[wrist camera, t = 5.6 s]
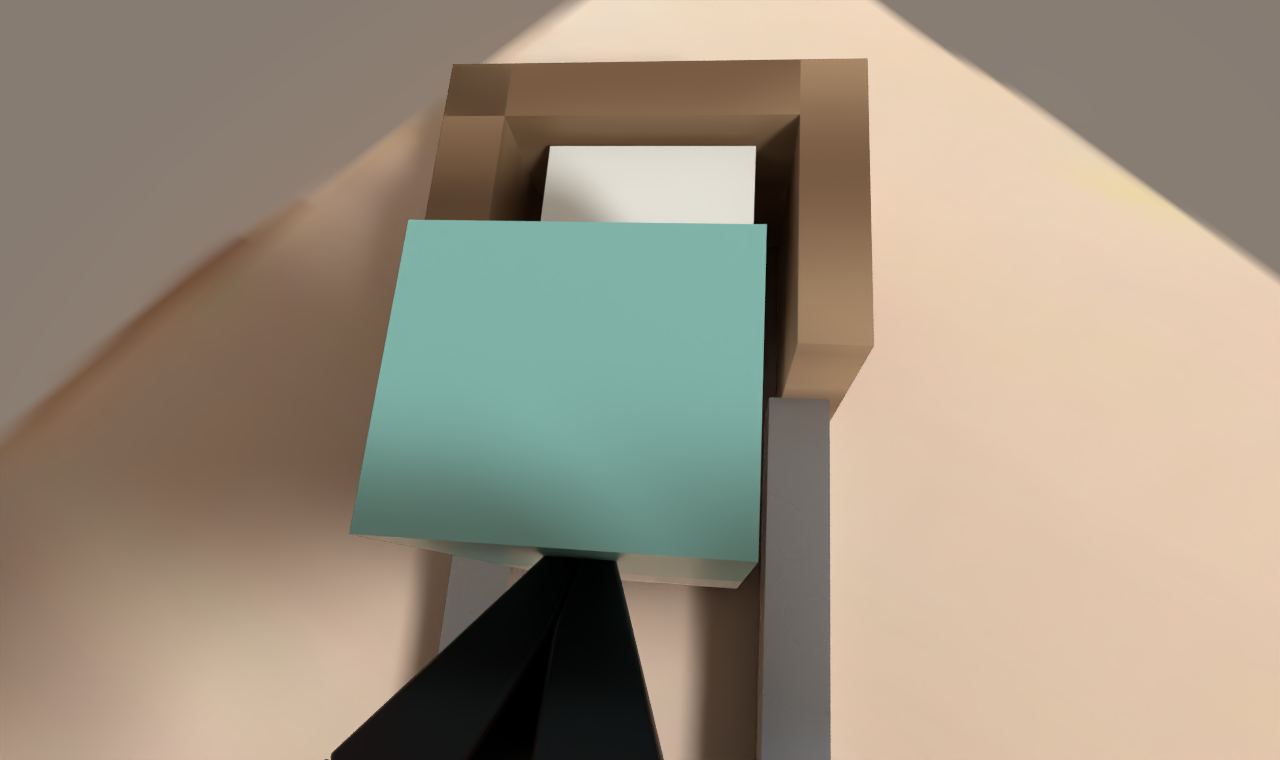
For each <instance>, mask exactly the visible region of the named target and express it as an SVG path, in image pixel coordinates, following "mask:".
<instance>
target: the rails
mask: <svg viewBox="0 0 1280 760" xmlns="http://www.w3.org/2000/svg"><path fill="white" fill-rule="evenodd" d="M527 571H528V570H524V569H519V568H514V567H509V566H504V565H499V564H494V563H489V562H484V561H480V560H475V559H470V558H465V557H460V556H455V555H452V562H451V569H450V575H449V582H448V589H447V596H446V603H445V610H444V616H443V623H442V630H441V637H440V644H439V651H438V654H439V653H440V652H441V651H442V650H443V649H444V648H445V647H446V646H447V645H449V644H450V643H451V642H452V641H453V640H454V639H455V638H456V637H457V636H458V635H459V634H460V633H461V632H462V631H464V630H465V629H466V628H467V627H468V626H469V625H470V624H471V623H472V622H473V621H474V620H475V619H476V618H478V617H479V616H480V615H481V614H482V613H483V612H484V611H485V610H486V609H487V608H488V607H489V606H490V605H492V604H493V603H494V602H495V601H496V600H497V599H498V598H499V597H500V596H501V595H502V594H503V593H504V592H506V591H507V590H508V589H509V588H510V587H511V586H512V585H513V584H514V583H515V582H516V581H517V580H518V579H520V578H521V577H522V576H523V575H524V574H525V573H526V572H527ZM756 760H831V752H830V436H829V400H822V399H798V398H774V397H769V401H768V405H767V410H766V414H765V418H764V452H763V493H762V535H761V576H760V618H759V660H758V701H757V743H756Z"/></svg>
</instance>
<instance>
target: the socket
mask: <svg viewBox="0 0 1280 760" xmlns="http://www.w3.org/2000/svg"><path fill="white" fill-rule="evenodd" d="M550 146H756V161H755V193H754V224H767V237H766V246H779V260H778V311H777V363H776V398H798V399H822V400H829V422H830V420H831V418H832V417H833V415H834V413H835V412H836V410H837V408H838V406H839V405H840V403H841V401H842V400H843V398H844V396H845V394H846V393H847V391H848V389H849V388H850V386H851V384H852V382H853V381H854V379H855V377H856V376H857V374H858V372H859V370H860V369H861V367H862V365H863V364H864V362H865V360H866V358H867V357H868V355H869V353H870V352H871V350H872V348H873V346H874V328H873V284H872V239H871V195H870V150H869V106H868V61H867V59H799V60H730V61H660V62H591V63H521V64H453V68H452V74H451V79H450V85H449V90H448V95H447V101H446V106H445V112H444V118H443V123H442V129H441V134H440V140H439V145H438V151H437V156H436V162H435V167H434V173H433V178H432V184H431V189H430V195H429V200H428V206H427V211H426V217H425V220H473V221H541V215H542V207H543V199H544V191H545V184H546V176H547V168H548V160H549V152H550Z"/></svg>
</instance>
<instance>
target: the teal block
mask: <svg viewBox="0 0 1280 760" xmlns="http://www.w3.org/2000/svg"><path fill="white" fill-rule="evenodd" d="M755 161H756V146H550V152H549V160H548V168H547V176H546V184H545V191H544V199H543V207H542V215H541V221H473V220H408V225H407V230H406V236H405V241H404V246H403V251H402V257H401V262H400V267H399V273H398V278H397V283H396V289H395V294H394V299H393V304H392V310H391V315H390V320H389V326H388V331H387V336H386V342H385V347H384V352H383V358H382V363H381V368H380V373H379V379H378V384H377V389H376V395H375V400H374V405H373V411H372V416H371V421H370V427H369V432H368V437H367V442H366V448H365V453H364V458H363V464H362V469H361V474H360V480H359V485H358V490H357V496H356V501H355V506H354V511H353V517H352V522H351V527H350V533H349V534H352V535H357V536H362V537H367V538H372V539H377V540H381V541H386V542H391V543H396V544H401V545H406V546H411V547H416V548H421V549H426V550H431V551H435V552H440V553H445V554H450V555H455V556H460V557H465V558H470V559H475V560H480V561H484V562H489V563H494V564H499V565H504V566H509V567H514V568H519V569H524V570H529V569H530V568H531V567H532V566H534V565H535V564H536V563H537V562H538V561H539V560H540V559H541V558H542V557H543V556H554V557H568V558H578V559H596V560H611V561H617V565H618V569H619V573H620V578H621V580H625V581H639V582H653V583H666V584H680V585H693V586H707V587H721V588H734V589H737V588H738V587H739V585H740V584H741V583H742V582H743V580H744V579H745V578H746V577H747V576H748V574H749V573H750V572H751V571H752V569H753V568H754V567H755V566H756V564H757V563H758V556H759V516H760V476H761V436H762V397H763V357H764V317H765V277H766V237H767V224H754V193H755Z"/></svg>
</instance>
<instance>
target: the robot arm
mask: <svg viewBox="0 0 1280 760" xmlns="http://www.w3.org/2000/svg"><path fill="white" fill-rule="evenodd" d="M325 760H328V759H325ZM331 760H664V759H663V755H662V750H661V746H660V742H659V738H658V734H657V729H656V725H655V721H654V717H653V713H652V708H651V704H650V700H649V696H648V691H647V687H646V683H645V679H644V675H643V670H642V666H641V662H640V658H639V654H638V649H637V645H636V641H635V637H634V632H633V628H632V624H631V620H630V616H629V611H628V607H627V603H626V599H625V595H624V590H623V586H622V582H621V578H620V573H619V569H618V565H617V561H611V560H596V559H578V558H568V557H554V556H543V557H542V558H541V559H540V560H539V561H538V562H537V563H536V564H535V565H534V566H532V567H531V568H530V569H529V570H528V571H527V572H526V573H525V574H524V575H523V576H522V577H521V578H520V579H518V580H517V581H516V582H515V583H514V584H513V585H512V586H511V587H510V588H509V589H508V590H507V591H506V592H504V593H503V594H502V595H501V596H500V597H499V598H498V599H497V600H496V601H495V602H494V603H493V604H492V605H490V606H489V607H488V608H487V609H486V610H485V611H484V612H483V613H482V614H481V615H480V616H479V617H478V618H476V619H475V620H474V621H473V622H472V623H471V624H470V625H469V626H468V627H467V628H466V629H465V630H464V631H462V632H461V633H460V634H459V635H458V636H457V637H456V638H455V639H454V640H453V641H452V642H451V643H450V644H449V645H447V646H446V647H445V648H444V649H443V650H442V651H441V652H440V653H439V654H438V655H437V656H436V657H435V658H433V659H432V660H431V661H430V662H429V663H428V664H427V665H426V666H425V667H424V668H423V669H422V670H421V671H419V672H418V673H417V674H416V675H415V676H414V677H413V678H412V679H411V680H410V681H409V682H408V683H407V684H405V685H404V686H403V687H402V688H401V689H400V690H399V691H398V692H397V693H396V694H395V695H394V696H393V697H391V698H390V699H389V700H388V701H387V702H386V703H385V704H384V705H383V706H382V707H381V708H380V709H379V710H377V711H376V712H375V713H374V714H373V715H372V716H371V717H370V718H369V719H368V720H367V721H366V722H365V723H364V724H362V725H361V726H360V727H359V728H358V729H357V730H356V731H355V732H354V733H353V734H352V735H351V736H350V737H348V738H347V739H346V740H345V741H344V742H343V743H342V744H341V745H340V746H339V747H338V748H337V749H336V750H334V751H333V752H332V754H331Z"/></svg>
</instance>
